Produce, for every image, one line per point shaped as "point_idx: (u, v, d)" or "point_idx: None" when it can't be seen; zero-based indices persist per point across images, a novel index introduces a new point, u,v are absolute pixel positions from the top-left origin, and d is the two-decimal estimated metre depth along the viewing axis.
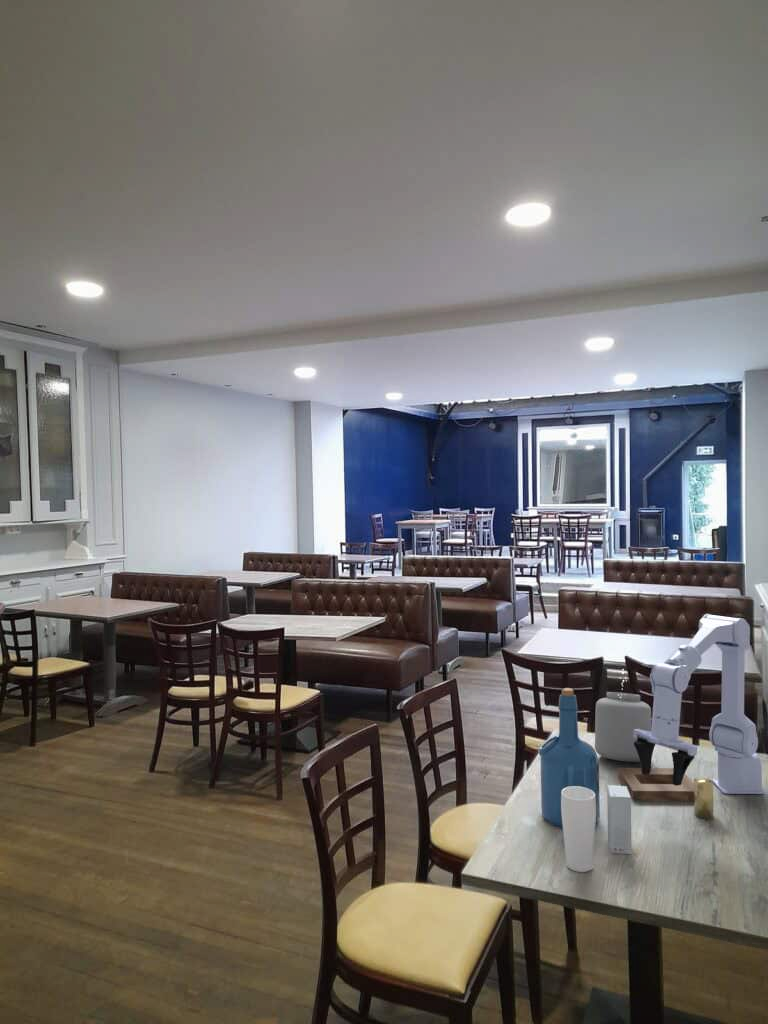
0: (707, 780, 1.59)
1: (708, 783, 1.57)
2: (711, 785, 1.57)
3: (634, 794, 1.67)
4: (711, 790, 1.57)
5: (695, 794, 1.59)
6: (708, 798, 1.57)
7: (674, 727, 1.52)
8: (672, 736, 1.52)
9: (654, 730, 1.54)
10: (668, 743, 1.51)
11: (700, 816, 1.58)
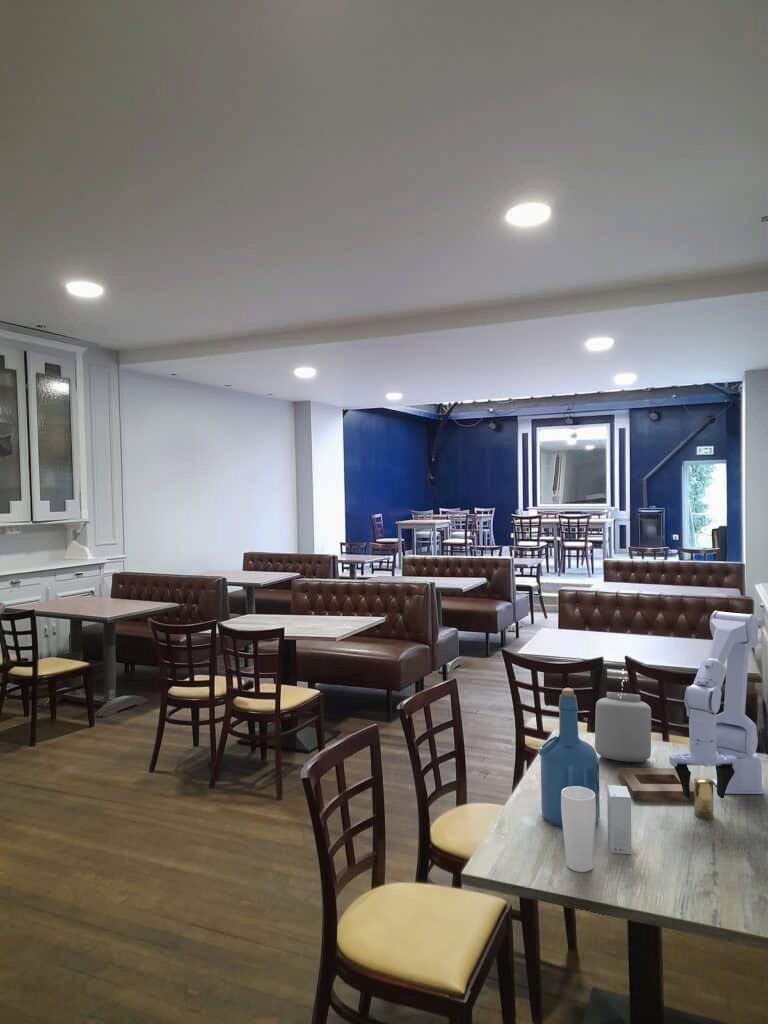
0: (707, 780, 1.59)
1: (708, 783, 1.57)
2: (711, 785, 1.57)
3: (634, 794, 1.67)
4: (711, 790, 1.57)
5: (695, 794, 1.59)
6: (709, 798, 1.57)
7: (716, 745, 1.58)
8: (716, 754, 1.57)
9: (703, 754, 1.56)
10: (718, 762, 1.56)
11: (700, 816, 1.58)
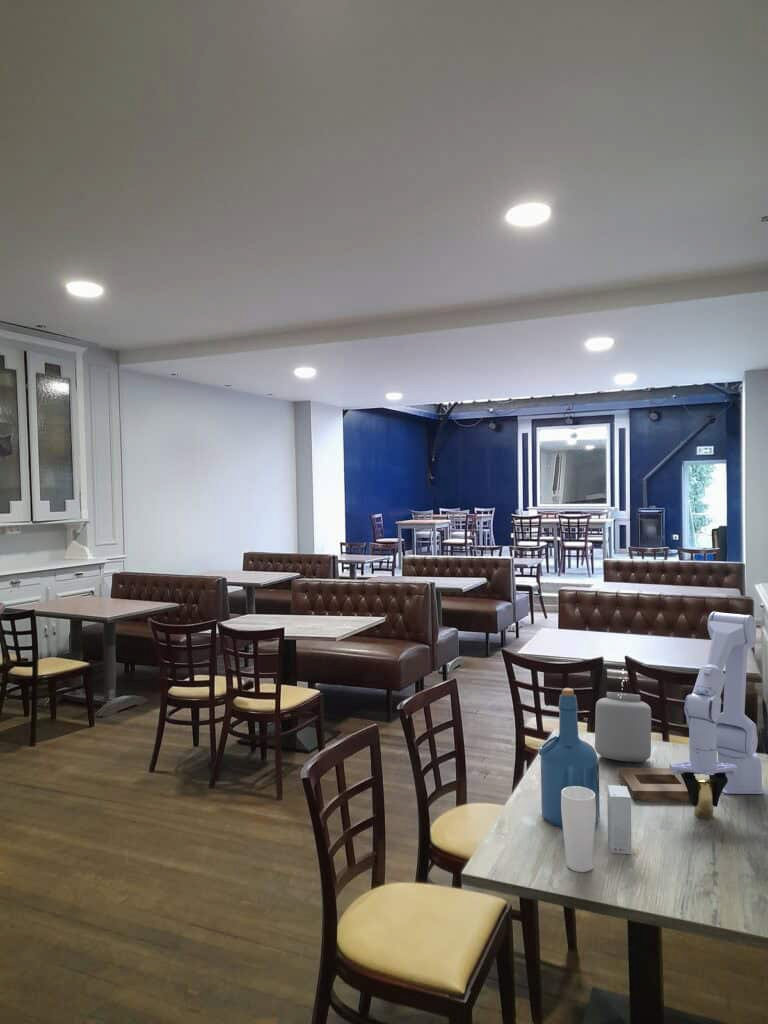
0: (707, 780, 1.59)
1: (708, 783, 1.57)
2: (711, 785, 1.57)
3: (634, 794, 1.67)
4: (711, 790, 1.57)
5: None
6: (709, 798, 1.57)
7: (716, 753, 1.58)
8: (716, 763, 1.57)
9: (703, 763, 1.56)
10: (718, 771, 1.56)
11: (700, 816, 1.58)
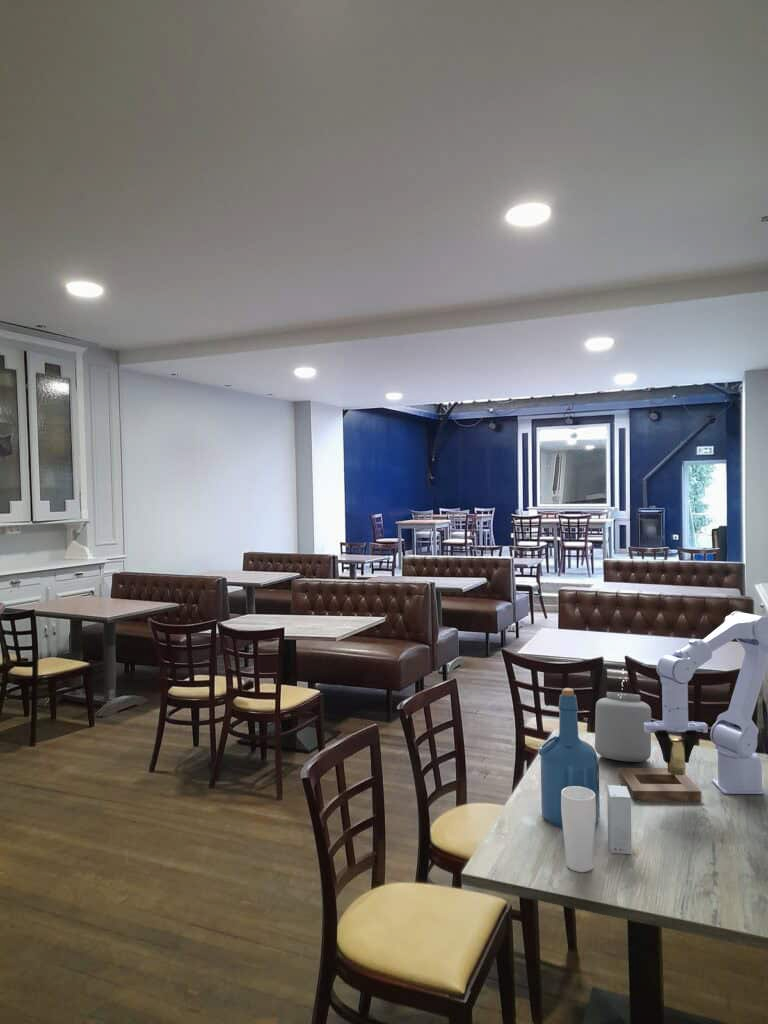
0: (679, 739, 1.67)
1: (681, 741, 1.65)
2: (683, 743, 1.65)
3: (634, 794, 1.67)
4: (683, 747, 1.65)
5: None
6: (681, 756, 1.65)
7: None
8: (688, 721, 1.65)
9: (675, 720, 1.64)
10: (689, 728, 1.64)
11: (673, 773, 1.65)
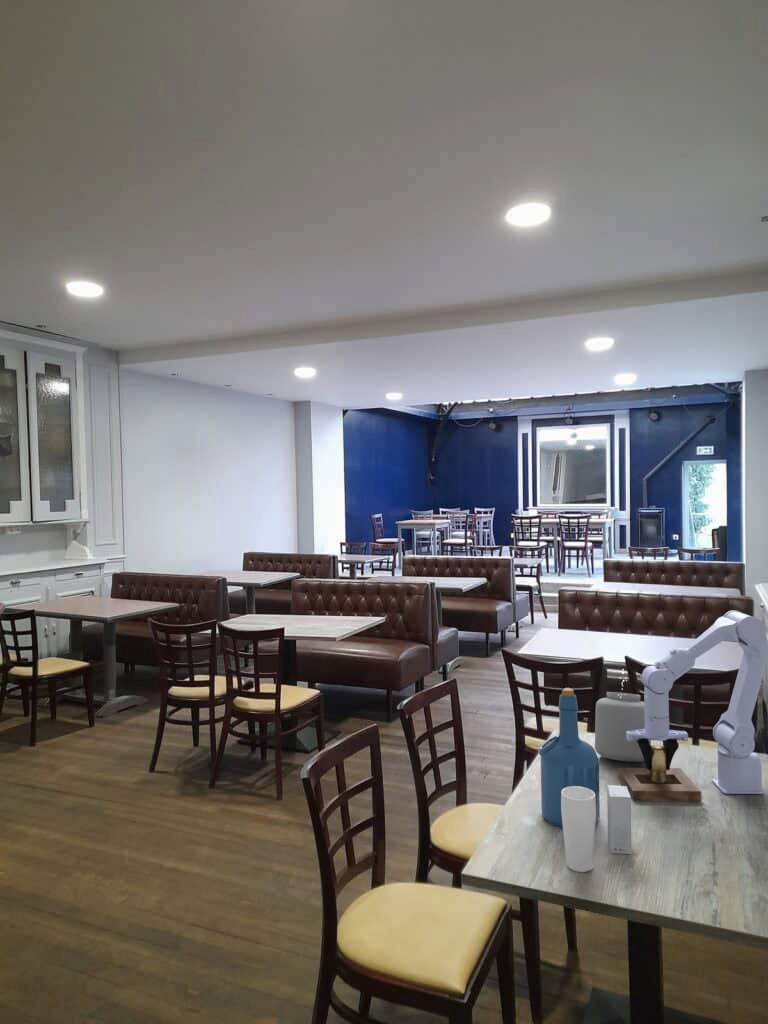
0: (661, 747, 1.73)
1: (662, 749, 1.71)
2: (665, 751, 1.71)
3: (634, 794, 1.67)
4: (665, 756, 1.71)
5: (650, 760, 1.72)
6: (662, 763, 1.71)
7: (668, 721, 1.72)
8: (668, 730, 1.72)
9: (656, 729, 1.70)
10: (670, 737, 1.71)
11: (655, 780, 1.72)
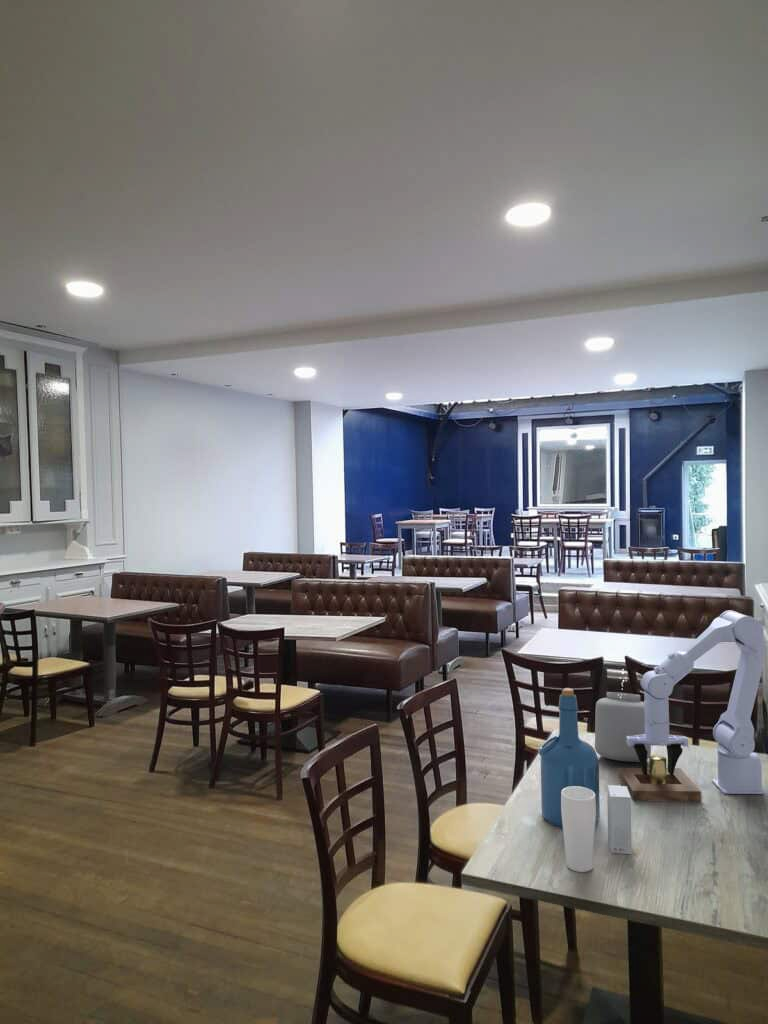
0: (661, 758, 1.73)
1: (662, 760, 1.71)
2: (665, 762, 1.71)
3: (634, 794, 1.67)
4: (665, 766, 1.71)
5: (650, 770, 1.73)
6: (662, 774, 1.71)
7: None
8: (669, 735, 1.72)
9: (656, 734, 1.70)
10: (670, 742, 1.71)
11: None
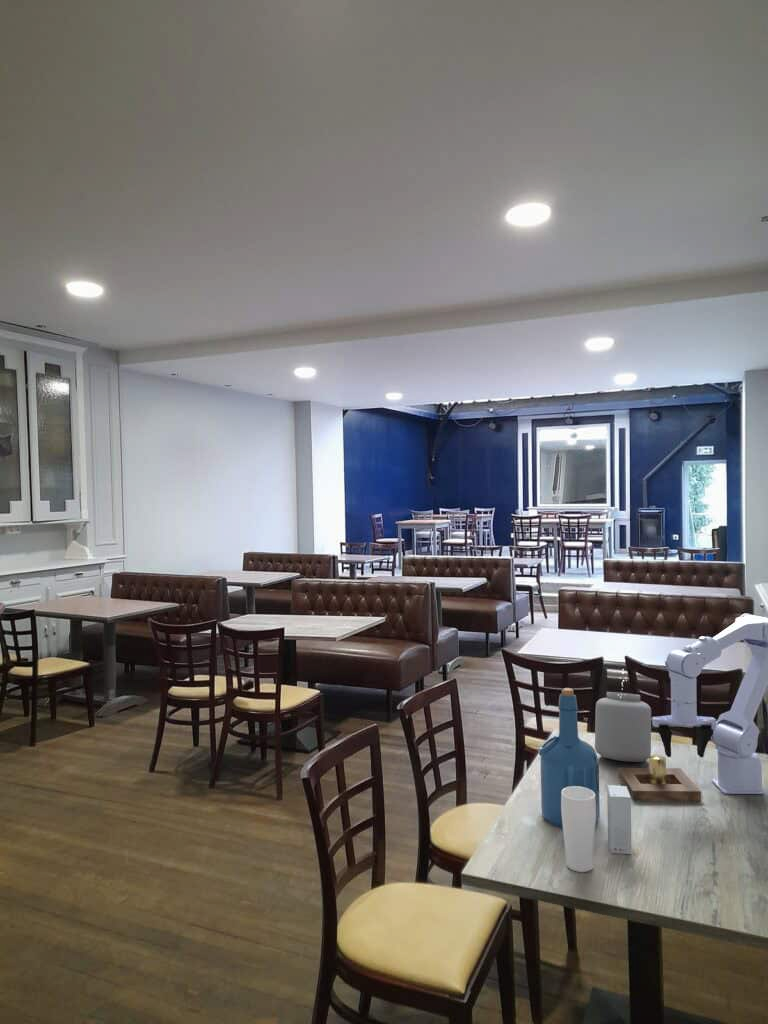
0: (660, 757, 1.73)
1: (662, 759, 1.72)
2: (664, 761, 1.71)
3: (634, 794, 1.67)
4: (664, 766, 1.71)
5: (650, 770, 1.73)
6: (662, 773, 1.71)
7: (696, 707, 1.67)
8: (696, 715, 1.66)
9: (684, 715, 1.65)
10: (697, 723, 1.65)
11: None
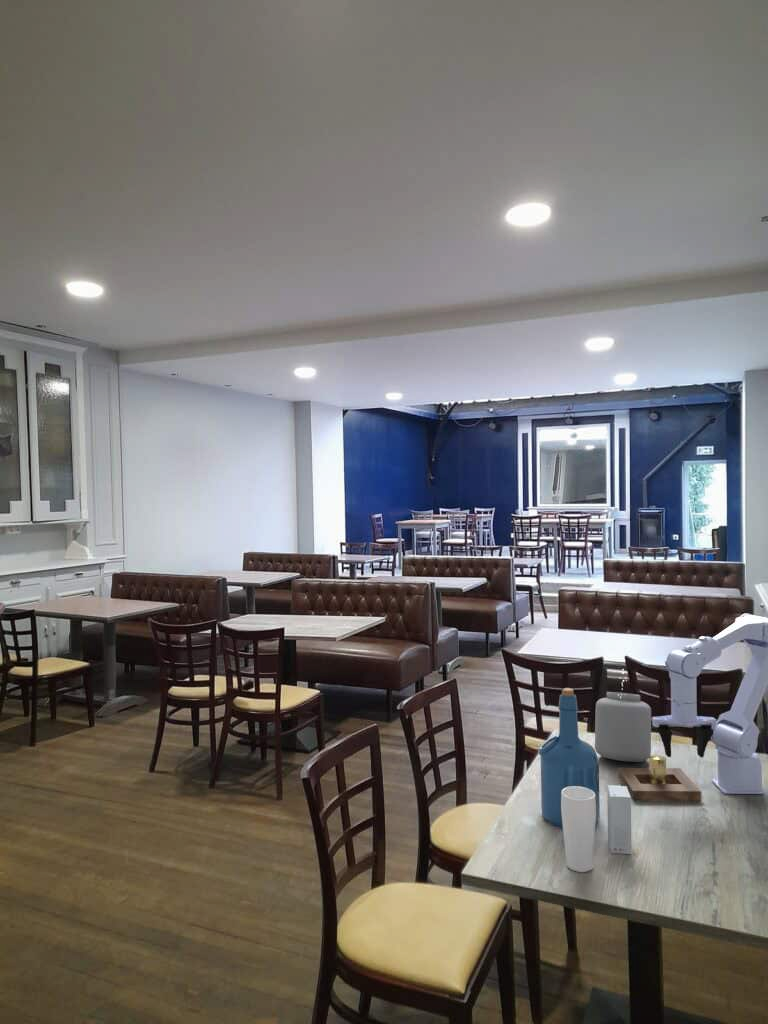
0: (661, 757, 1.73)
1: (662, 760, 1.71)
2: (664, 761, 1.71)
3: (634, 794, 1.67)
4: (665, 766, 1.71)
5: (650, 770, 1.73)
6: (662, 774, 1.71)
7: (696, 707, 1.67)
8: (696, 715, 1.66)
9: (684, 715, 1.65)
10: (698, 723, 1.65)
11: None
